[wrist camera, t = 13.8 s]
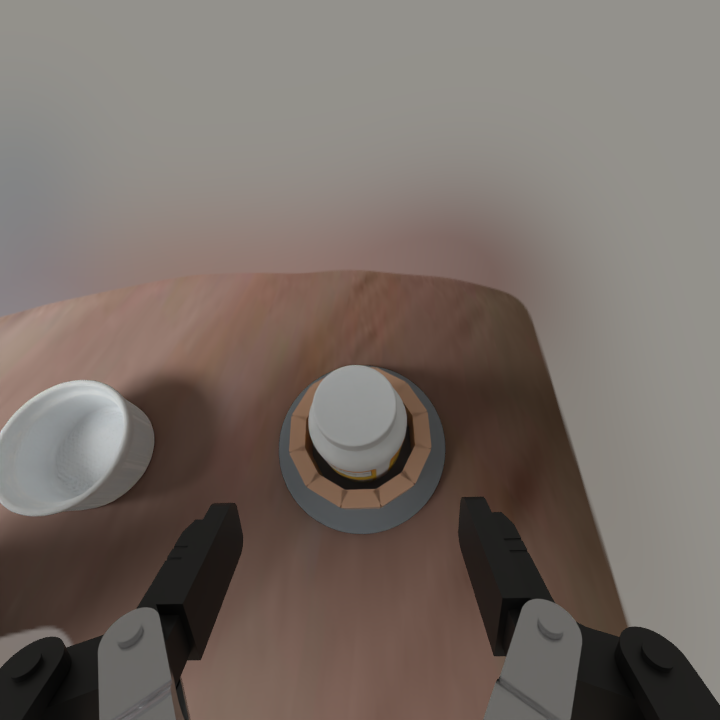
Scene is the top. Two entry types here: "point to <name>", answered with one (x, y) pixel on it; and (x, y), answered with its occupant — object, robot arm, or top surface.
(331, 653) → the top surface
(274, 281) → the top surface
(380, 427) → the supplement bottle
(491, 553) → the robot arm
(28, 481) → the ramekin
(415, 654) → the top surface
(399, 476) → the holder
